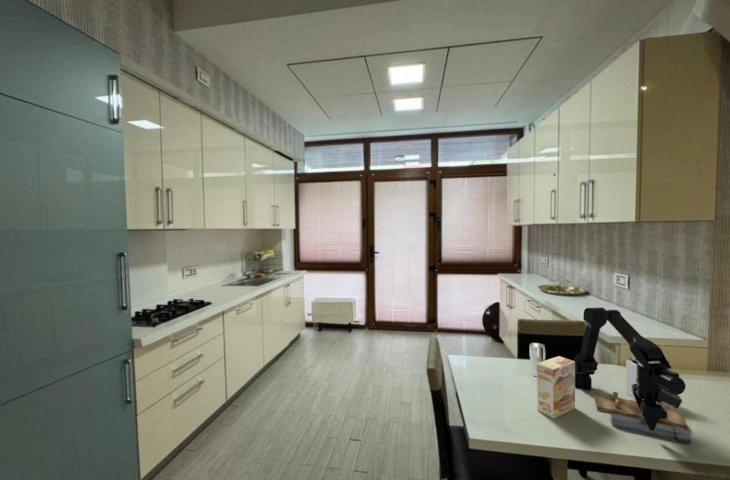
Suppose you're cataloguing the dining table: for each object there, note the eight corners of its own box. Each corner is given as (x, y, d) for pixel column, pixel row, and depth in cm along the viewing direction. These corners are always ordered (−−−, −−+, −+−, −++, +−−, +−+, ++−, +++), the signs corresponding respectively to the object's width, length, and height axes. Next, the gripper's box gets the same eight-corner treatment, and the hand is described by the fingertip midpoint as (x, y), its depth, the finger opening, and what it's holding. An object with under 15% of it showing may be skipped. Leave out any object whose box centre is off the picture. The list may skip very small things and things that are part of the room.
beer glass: (543, 372, 160) (543, 343, 160) (546, 378, 154) (546, 348, 153) (528, 370, 162) (528, 342, 162) (531, 376, 156) (530, 346, 156)
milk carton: (656, 402, 130) (656, 357, 130) (636, 401, 132) (636, 356, 131) (644, 393, 137) (644, 351, 137) (626, 392, 139) (625, 350, 138)
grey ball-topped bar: (612, 426, 115) (612, 418, 115) (610, 420, 120) (610, 412, 119) (693, 445, 104) (693, 437, 104) (688, 437, 108) (688, 429, 108)
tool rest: (597, 410, 126) (597, 399, 126) (593, 396, 136) (593, 386, 136) (686, 429, 113) (686, 417, 113) (675, 412, 123) (675, 401, 123)
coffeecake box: (554, 419, 121) (553, 369, 120) (536, 410, 127) (535, 362, 127) (576, 408, 128) (575, 361, 127) (558, 400, 134) (558, 355, 134)
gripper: (688, 398, 99) (688, 446, 100) (670, 374, 115) (670, 416, 116) (642, 389, 105) (643, 435, 106) (631, 368, 121) (631, 408, 122)
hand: (648, 423), depth 112 cm, fingers open, 9 cm apart
